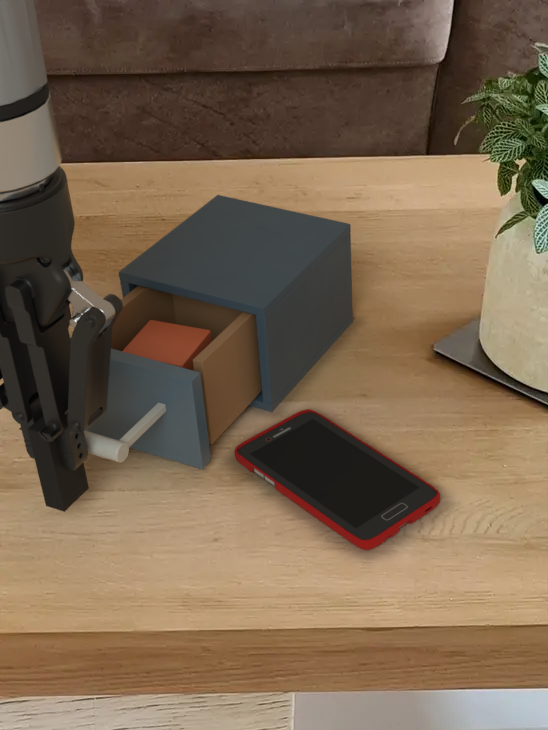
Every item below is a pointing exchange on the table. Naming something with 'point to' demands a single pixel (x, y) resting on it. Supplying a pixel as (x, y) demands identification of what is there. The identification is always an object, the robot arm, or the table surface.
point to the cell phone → (338, 478)
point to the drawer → (176, 382)
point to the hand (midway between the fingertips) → (67, 496)
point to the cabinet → (260, 280)
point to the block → (170, 343)
